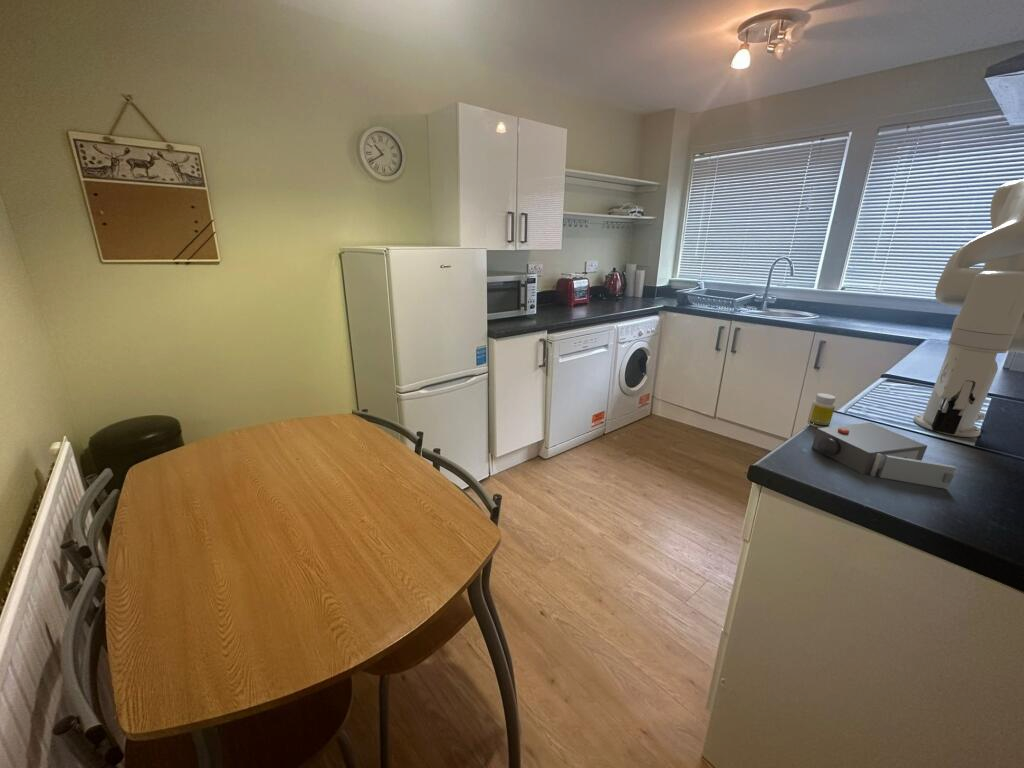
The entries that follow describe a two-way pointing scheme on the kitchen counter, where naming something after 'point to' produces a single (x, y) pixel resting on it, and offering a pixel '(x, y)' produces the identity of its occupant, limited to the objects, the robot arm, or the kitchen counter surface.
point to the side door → (917, 471)
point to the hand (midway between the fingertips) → (942, 431)
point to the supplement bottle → (822, 410)
